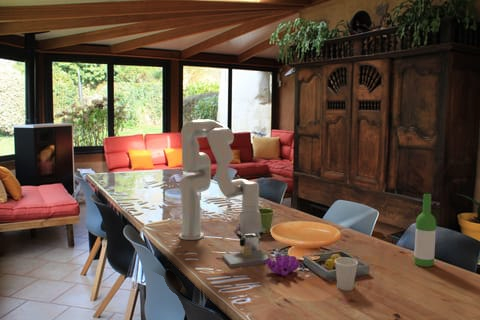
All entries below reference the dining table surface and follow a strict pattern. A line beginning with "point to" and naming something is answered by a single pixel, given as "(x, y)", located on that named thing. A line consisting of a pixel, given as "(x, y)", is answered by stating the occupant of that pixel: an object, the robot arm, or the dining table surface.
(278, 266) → the purple bumpy lump
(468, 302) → the dining table surface
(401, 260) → the dining table surface
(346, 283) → the dixie cup
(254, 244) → the socket
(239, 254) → the board
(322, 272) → the grey square tray
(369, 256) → the dining table surface
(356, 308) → the dining table surface
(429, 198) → the wine bottle
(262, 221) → the plant pot
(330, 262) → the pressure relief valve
